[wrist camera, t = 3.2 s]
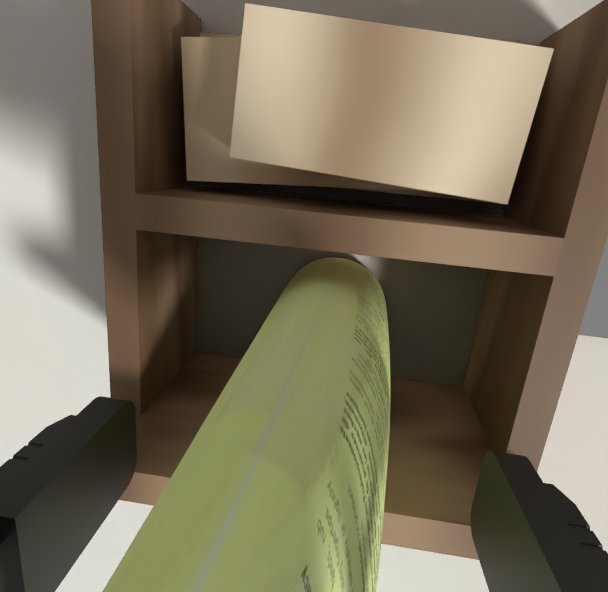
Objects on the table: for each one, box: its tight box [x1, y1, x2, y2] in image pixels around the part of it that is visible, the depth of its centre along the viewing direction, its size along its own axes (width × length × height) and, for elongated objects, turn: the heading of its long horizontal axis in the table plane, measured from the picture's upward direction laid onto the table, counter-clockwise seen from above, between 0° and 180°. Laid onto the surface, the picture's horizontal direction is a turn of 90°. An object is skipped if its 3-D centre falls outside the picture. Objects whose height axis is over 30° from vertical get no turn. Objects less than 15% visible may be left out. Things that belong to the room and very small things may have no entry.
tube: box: [103, 257, 390, 592], centre depth 12 cm, size 6×5×20 cm
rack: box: [91, 0, 608, 560], centre depth 16 cm, size 16×16×9 cm
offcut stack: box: [181, 3, 554, 204], centre depth 16 cm, size 12×5×5 cm, turn 85°
